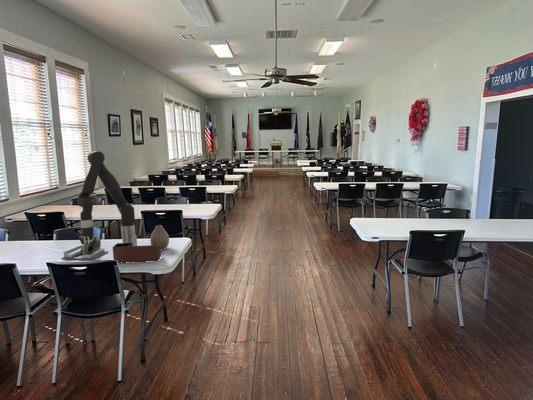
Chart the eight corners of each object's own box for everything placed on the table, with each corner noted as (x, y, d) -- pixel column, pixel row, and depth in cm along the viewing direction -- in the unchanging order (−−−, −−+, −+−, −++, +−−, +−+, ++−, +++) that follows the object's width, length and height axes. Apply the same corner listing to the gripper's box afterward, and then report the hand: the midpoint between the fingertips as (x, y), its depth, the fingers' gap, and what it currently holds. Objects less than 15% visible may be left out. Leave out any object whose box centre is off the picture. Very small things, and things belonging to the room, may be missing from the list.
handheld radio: (101, 247, 260) (79, 258, 236) (97, 247, 261) (74, 258, 236) (101, 238, 259) (79, 248, 235) (97, 238, 260) (74, 248, 235)
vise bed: (108, 252, 256) (107, 247, 255) (92, 260, 238) (91, 255, 238) (79, 251, 260) (79, 246, 259) (61, 259, 242) (61, 254, 242)
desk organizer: (117, 259, 241) (116, 242, 240) (162, 257, 244) (161, 241, 242) (112, 264, 231) (111, 247, 229) (159, 262, 234) (158, 245, 232)
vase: (158, 252, 253) (156, 228, 250) (147, 249, 261) (145, 226, 258) (173, 248, 263) (171, 225, 261) (162, 245, 271) (160, 223, 269)
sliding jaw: (87, 250, 257) (86, 245, 257) (72, 257, 242) (71, 251, 241) (79, 250, 258) (79, 244, 258) (64, 257, 243) (63, 251, 242)
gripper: (99, 225, 248) (101, 249, 250) (81, 224, 250) (83, 248, 253) (92, 227, 241) (95, 252, 243) (74, 227, 243) (76, 251, 245)
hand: (89, 250), depth 248 cm, fingers closed on handheld radio, 3 cm apart
